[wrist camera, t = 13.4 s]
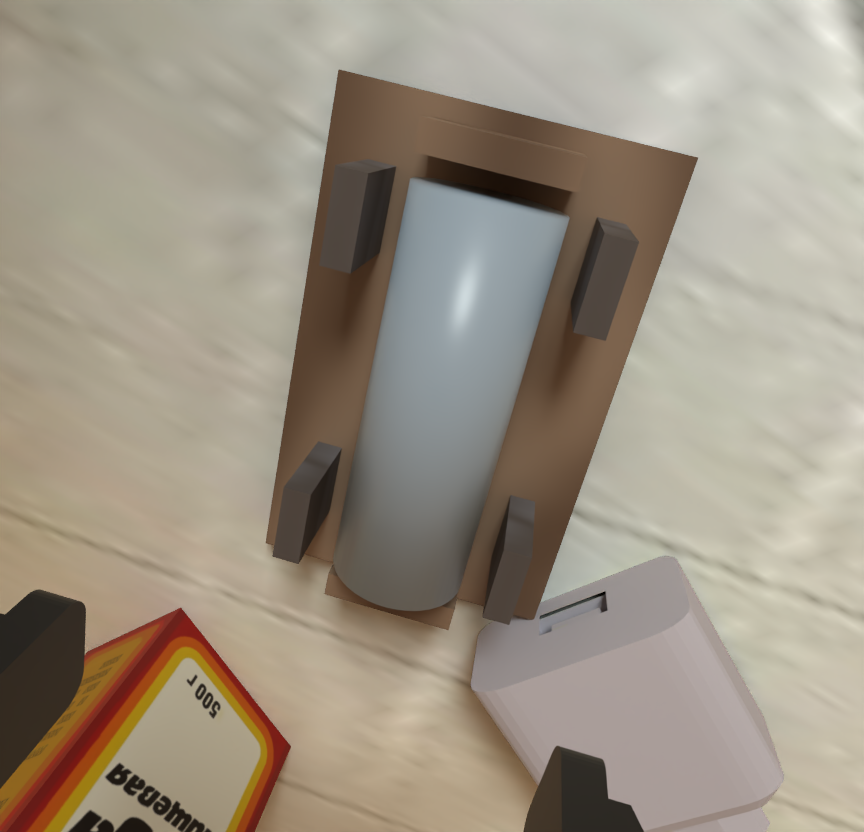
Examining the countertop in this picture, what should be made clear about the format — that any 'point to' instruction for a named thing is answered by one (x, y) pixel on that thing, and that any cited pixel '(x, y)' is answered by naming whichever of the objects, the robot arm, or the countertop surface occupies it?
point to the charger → (635, 700)
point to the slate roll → (442, 387)
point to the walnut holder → (554, 339)
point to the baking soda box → (150, 744)
